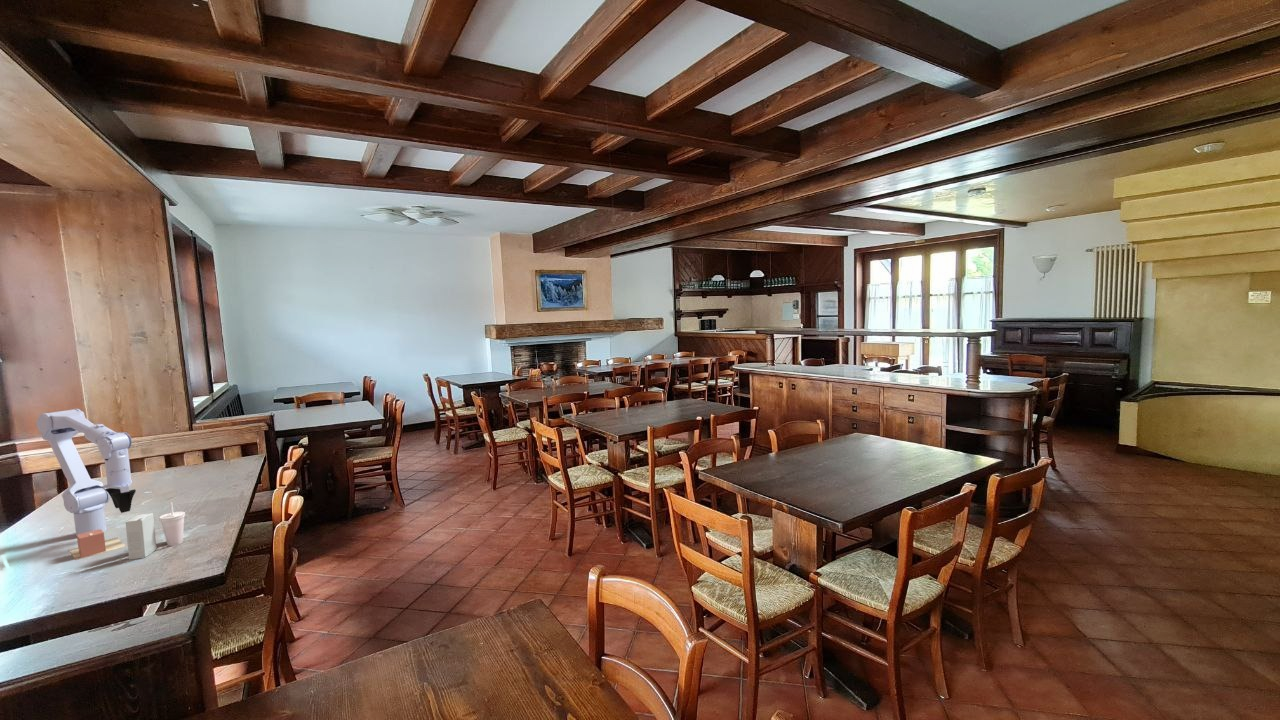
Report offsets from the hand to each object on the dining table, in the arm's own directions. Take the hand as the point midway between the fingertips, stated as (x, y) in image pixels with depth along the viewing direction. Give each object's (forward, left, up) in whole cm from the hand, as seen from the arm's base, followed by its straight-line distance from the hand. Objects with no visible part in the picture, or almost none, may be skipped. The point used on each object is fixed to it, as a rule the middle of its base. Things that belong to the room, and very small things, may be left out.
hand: (122, 509), depth 174 cm
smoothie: (+21, +8, -10) cm, 25 cm away
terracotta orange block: (+9, -9, -9) cm, 15 cm away
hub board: (+6, -8, -10) cm, 14 cm away
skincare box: (+23, 0, -10) cm, 25 cm away
